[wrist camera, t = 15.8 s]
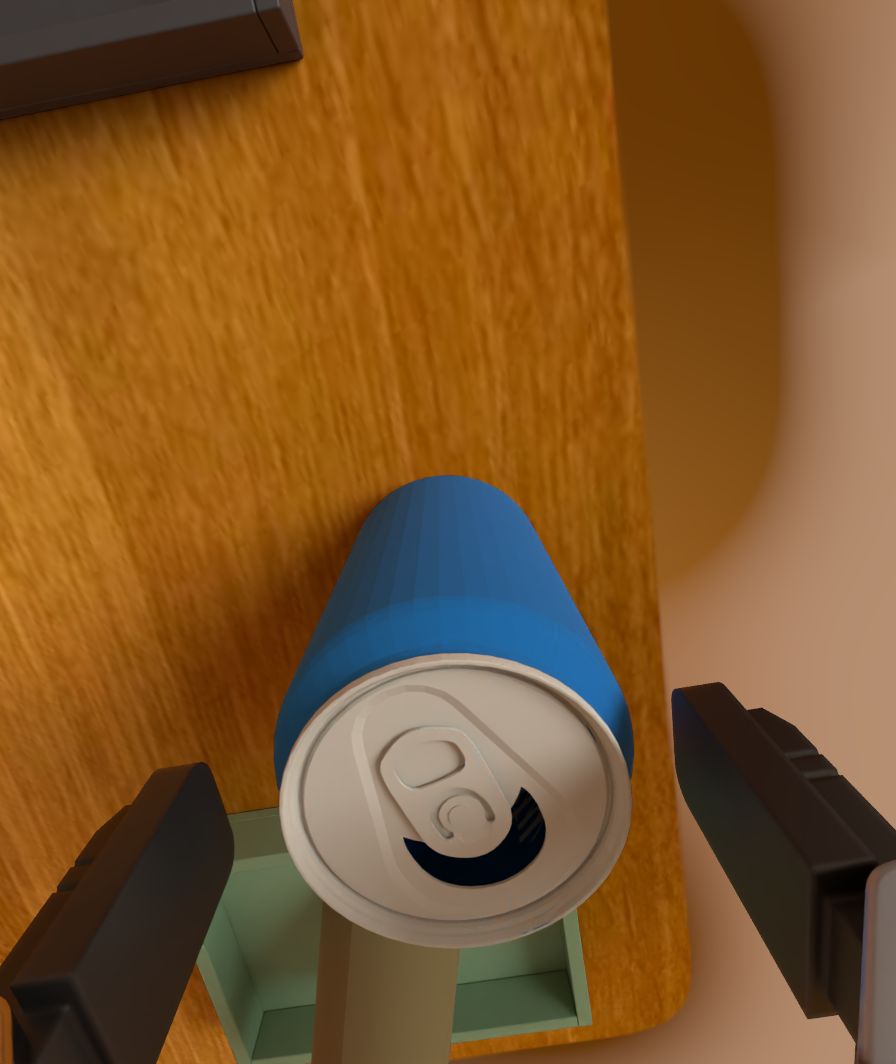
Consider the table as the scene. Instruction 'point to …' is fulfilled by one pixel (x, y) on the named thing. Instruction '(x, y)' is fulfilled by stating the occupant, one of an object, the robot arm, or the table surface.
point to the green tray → (293, 953)
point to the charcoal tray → (132, 46)
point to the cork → (381, 998)
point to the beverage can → (453, 730)
